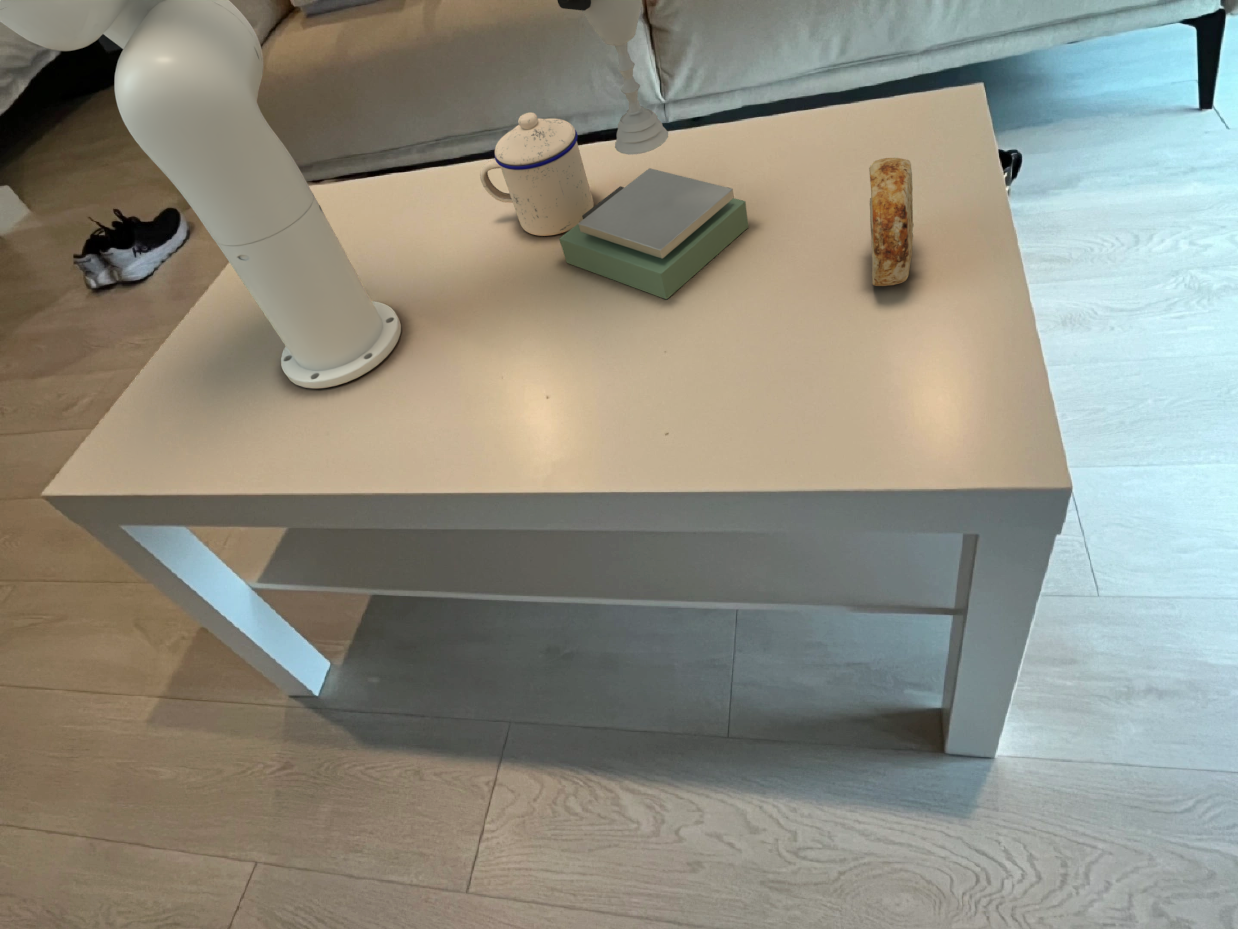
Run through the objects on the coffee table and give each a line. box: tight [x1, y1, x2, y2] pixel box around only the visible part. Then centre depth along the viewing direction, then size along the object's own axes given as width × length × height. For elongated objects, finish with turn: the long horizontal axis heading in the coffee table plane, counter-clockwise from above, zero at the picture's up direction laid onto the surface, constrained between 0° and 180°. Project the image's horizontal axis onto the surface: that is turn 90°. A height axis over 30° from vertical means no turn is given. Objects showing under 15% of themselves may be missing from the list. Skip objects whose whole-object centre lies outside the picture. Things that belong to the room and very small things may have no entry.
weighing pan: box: [578, 167, 735, 259], centre depth 80 cm, size 11×11×1 cm
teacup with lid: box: [479, 112, 595, 237], centre depth 89 cm, size 12×9×12 cm
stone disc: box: [868, 157, 914, 287], centre depth 70 cm, size 10×4×10 cm, turn 167°
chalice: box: [581, 0, 669, 156], centre depth 69 cm, size 7×7×18 cm
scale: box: [558, 185, 749, 300], centre depth 83 cm, size 14×13×4 cm
